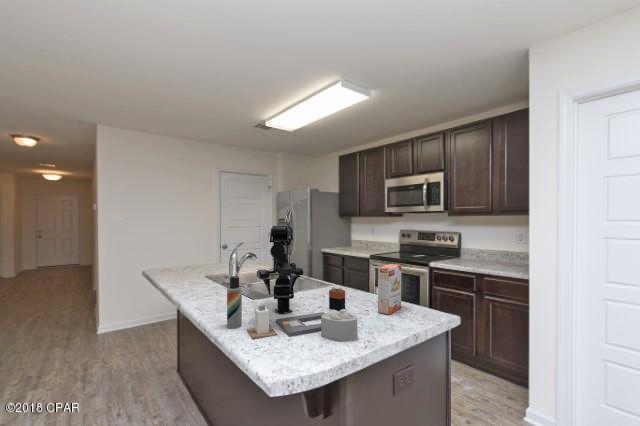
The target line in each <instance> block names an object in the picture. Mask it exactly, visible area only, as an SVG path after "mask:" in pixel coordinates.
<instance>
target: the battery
mask: <svg viewBox="0 0 640 426" xmlns="http://www.w3.org/2000/svg"><path fill="white" fill-rule="evenodd" d="M328 309H329V310H337V311H340V310H342V309H345V310H346V290H345V289H343V288H341V287H338V288H336V287H331V289H329V290H328Z"/></svg>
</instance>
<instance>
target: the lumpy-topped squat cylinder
mask: <svg viewBox="0 0 640 426" xmlns="http://www.w3.org/2000/svg"><path fill="white" fill-rule="evenodd" d="M324 313H325V314H324V315H322V316H321V319H320V323H321V331H320V332H321V333H320V335H321V337H322V338H323V339H326V340H331V341H333V342H351V341H352V342H353V341H356V340H357V339H358V336H359V335H358V332H359V330H358V328H359V326H358V316H356V315H355V314H353V313H351V312H350V311H348V310H347V309H346V308H345V309H342V310H340V311H337V310H332V309H329V311H327V312H324Z"/></svg>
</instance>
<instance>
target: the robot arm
mask: <svg viewBox="0 0 640 426" xmlns="http://www.w3.org/2000/svg"><path fill="white" fill-rule="evenodd" d="M269 233H270V234H269V235H270V236H269V243H273V244H272V246H271V247H270V251H269V252H270V253H269V254H270V256H271V257H272V264H273V265H272V266H273V267H272V270H268V269H267V268H266V269H257V271H256V277H257V278H258V279H260V280H261V281H263V283H264V285H265V288H266V291H267V292H268V295H269V296H270V295H271V294H272V293H271V278H270V276H278V277H277V278H276V279H275V282H274V283H275V285H274V286H273V300H276V301H277V303H276V305H277V307H276V308H274V310H275V312H276V313H277V314H279V315H280V314H288V313H293V310H292V309H291V307H290V305H291V304H290V301H291V300H293V299H294V298H295V291H294V286H295V283H296V281H297V280H298V279H299V278H301V276H303V275H304V269H303V268H302V267H299V266H297V264H296V262H289V250H290V248H291V246H292V245H293V240H294V229H293V227H291V226H290V223H289V222H287V221H285V222H284V221H280V222H278V225H272V228H270V232H269Z"/></svg>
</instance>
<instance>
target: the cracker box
mask: <svg viewBox="0 0 640 426" xmlns="http://www.w3.org/2000/svg"><path fill="white" fill-rule="evenodd" d="M377 277H378V278H377V313H379V314H383V315H387V316H390V315H391V314H393V313H395V312H396V311H398V310H401V309H402V264H395V263H390V264H386V265H381V266H378V267H377Z"/></svg>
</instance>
